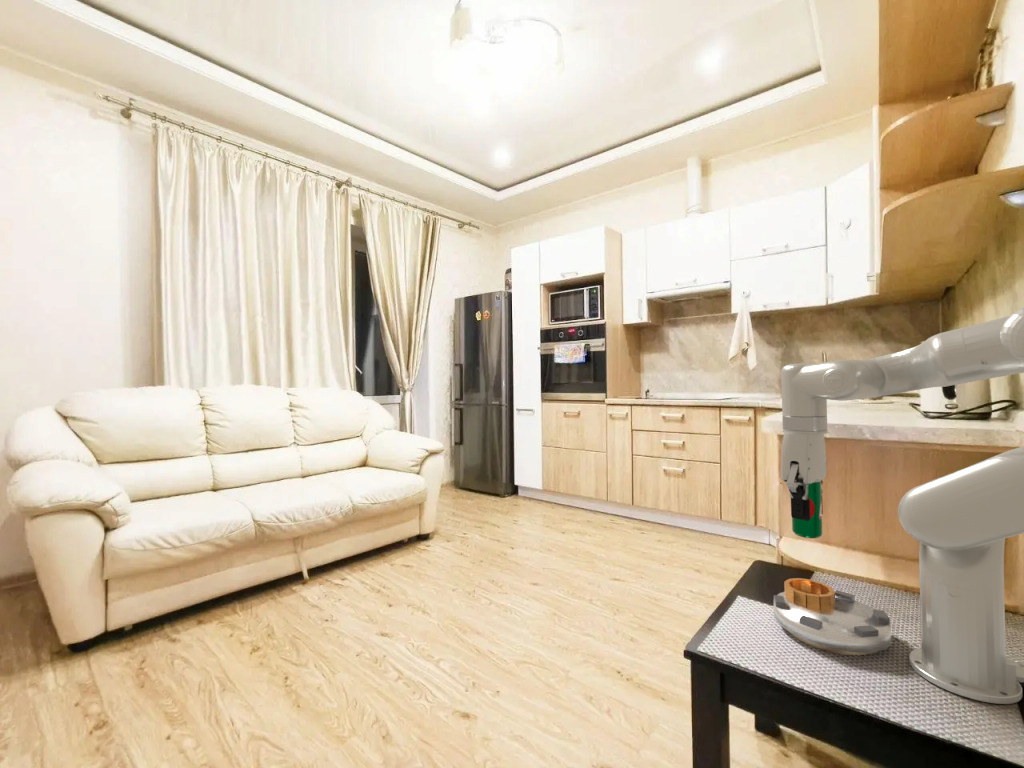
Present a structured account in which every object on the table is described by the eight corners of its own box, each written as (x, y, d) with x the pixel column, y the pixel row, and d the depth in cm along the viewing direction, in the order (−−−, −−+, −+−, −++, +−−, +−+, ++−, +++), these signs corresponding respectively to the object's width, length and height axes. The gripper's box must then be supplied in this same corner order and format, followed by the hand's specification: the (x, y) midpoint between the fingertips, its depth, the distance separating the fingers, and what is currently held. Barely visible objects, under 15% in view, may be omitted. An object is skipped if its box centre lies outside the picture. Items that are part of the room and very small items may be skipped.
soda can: (827, 539, 87) (826, 477, 87) (799, 538, 88) (797, 477, 88) (814, 531, 92) (813, 472, 92) (787, 530, 93) (786, 472, 93)
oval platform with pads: (872, 611, 90) (871, 585, 90) (908, 662, 73) (907, 631, 73) (768, 596, 97) (768, 572, 97) (780, 639, 81) (779, 611, 81)
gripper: (801, 421, 98) (804, 505, 98) (764, 427, 88) (767, 520, 88) (842, 423, 92) (845, 512, 92) (807, 429, 82) (810, 529, 82)
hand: (807, 515), depth 90 cm, fingers closed on soda can, 5 cm apart
